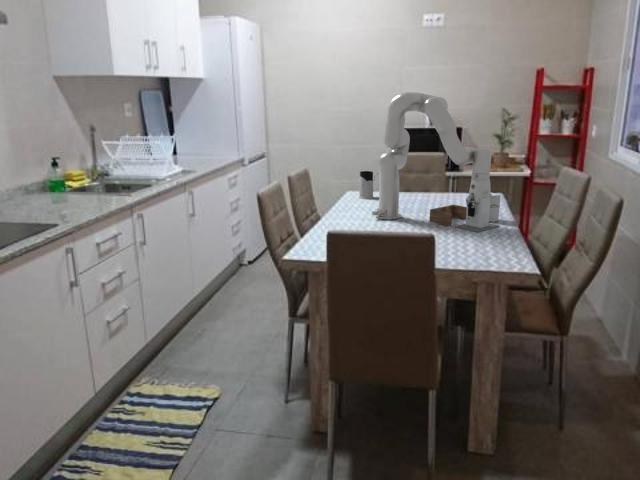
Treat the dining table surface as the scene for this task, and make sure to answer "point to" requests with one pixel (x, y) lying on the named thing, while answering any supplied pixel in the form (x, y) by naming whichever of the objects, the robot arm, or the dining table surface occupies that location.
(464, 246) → the dining table surface
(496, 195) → the supplement box
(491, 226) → the mat
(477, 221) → the small box
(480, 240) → the dining table surface
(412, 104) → the robot arm
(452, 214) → the cubby
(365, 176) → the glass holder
